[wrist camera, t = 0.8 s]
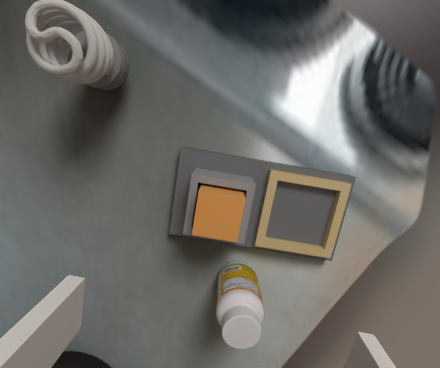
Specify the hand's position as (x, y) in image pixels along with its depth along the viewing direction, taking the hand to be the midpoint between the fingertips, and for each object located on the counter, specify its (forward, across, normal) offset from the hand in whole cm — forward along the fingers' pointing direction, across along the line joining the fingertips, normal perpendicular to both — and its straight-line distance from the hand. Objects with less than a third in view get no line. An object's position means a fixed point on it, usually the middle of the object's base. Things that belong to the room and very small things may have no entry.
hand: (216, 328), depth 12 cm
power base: (+22, -4, 0) cm, 22 cm away
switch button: (+17, +1, 0) cm, 17 cm away
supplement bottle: (+22, -4, +11) cm, 24 cm away
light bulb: (+22, +16, -13) cm, 30 cm away
